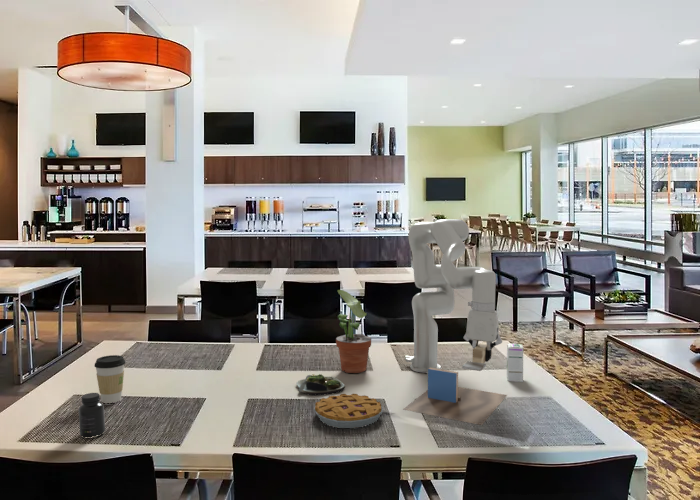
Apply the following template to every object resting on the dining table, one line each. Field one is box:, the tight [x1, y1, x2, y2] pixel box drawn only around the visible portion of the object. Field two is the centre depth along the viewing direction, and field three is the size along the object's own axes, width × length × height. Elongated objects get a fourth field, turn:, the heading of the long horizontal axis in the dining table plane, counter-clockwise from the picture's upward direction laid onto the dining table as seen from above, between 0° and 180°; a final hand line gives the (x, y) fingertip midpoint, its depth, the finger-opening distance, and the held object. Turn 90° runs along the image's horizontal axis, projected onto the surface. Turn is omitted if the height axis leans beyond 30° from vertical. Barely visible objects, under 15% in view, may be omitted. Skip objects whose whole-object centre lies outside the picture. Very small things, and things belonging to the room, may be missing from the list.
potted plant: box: [335, 289, 372, 374], centre depth 226 cm, size 16×15×35 cm
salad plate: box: [296, 373, 346, 396], centre depth 209 cm, size 19×18×5 cm
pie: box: [313, 393, 384, 429], centre depth 179 cm, size 22×22×5 cm
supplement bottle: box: [78, 392, 106, 437], centre depth 166 cm, size 7×7×12 cm
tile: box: [427, 368, 459, 403], centre depth 190 cm, size 10×2×10 cm, turn 60°
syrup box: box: [506, 343, 524, 383], centre depth 212 cm, size 6×6×14 cm
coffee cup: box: [94, 354, 126, 403], centre depth 193 cm, size 10×10×15 cm
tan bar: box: [461, 341, 493, 372], centre depth 188 cm, size 18×6×5 cm, turn 150°
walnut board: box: [402, 386, 508, 426], centre depth 188 cm, size 26×30×2 cm
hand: (482, 359), depth 191 cm, fingers closed on tan bar, 3 cm apart
